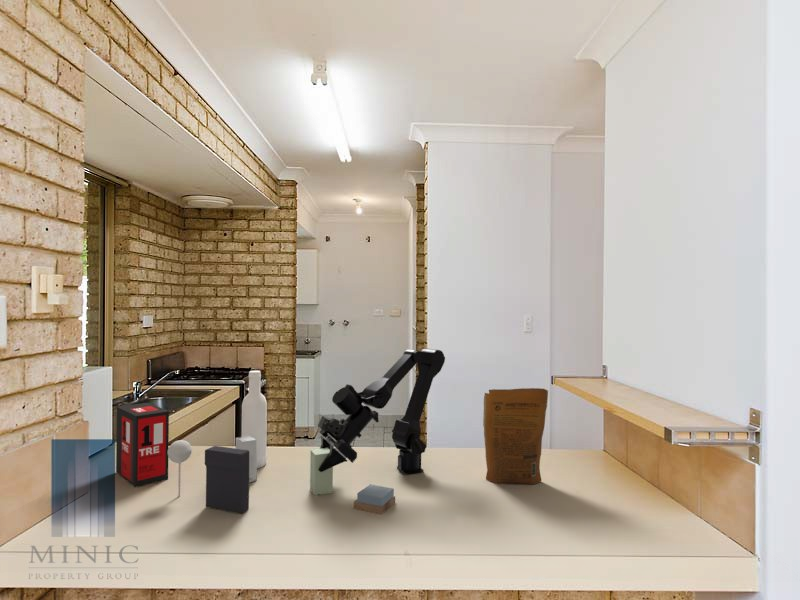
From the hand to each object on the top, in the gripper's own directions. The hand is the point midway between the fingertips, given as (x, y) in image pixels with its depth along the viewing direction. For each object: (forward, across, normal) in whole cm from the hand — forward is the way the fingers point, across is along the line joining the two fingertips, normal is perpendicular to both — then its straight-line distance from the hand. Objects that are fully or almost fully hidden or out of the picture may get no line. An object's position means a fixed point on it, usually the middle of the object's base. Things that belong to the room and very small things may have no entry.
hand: (316, 467), depth 136 cm
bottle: (+14, -29, -4) cm, 32 cm away
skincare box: (+17, -17, -7) cm, 25 cm away
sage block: (+4, 0, +6) cm, 7 cm away
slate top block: (-5, +15, +12) cm, 20 cm away
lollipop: (+29, -11, -20) cm, 37 cm away
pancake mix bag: (-34, +16, +44) cm, 58 cm away
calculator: (+22, +2, -12) cm, 25 cm away
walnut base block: (-3, +15, +13) cm, 20 cm away
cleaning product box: (+36, -32, -27) cm, 55 cm away
